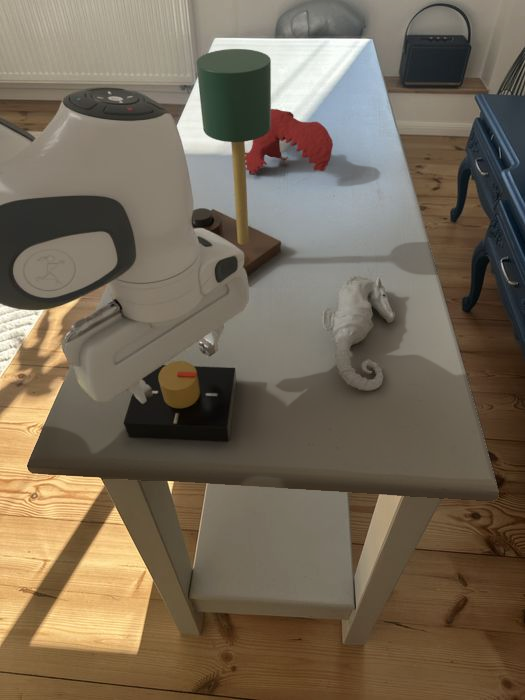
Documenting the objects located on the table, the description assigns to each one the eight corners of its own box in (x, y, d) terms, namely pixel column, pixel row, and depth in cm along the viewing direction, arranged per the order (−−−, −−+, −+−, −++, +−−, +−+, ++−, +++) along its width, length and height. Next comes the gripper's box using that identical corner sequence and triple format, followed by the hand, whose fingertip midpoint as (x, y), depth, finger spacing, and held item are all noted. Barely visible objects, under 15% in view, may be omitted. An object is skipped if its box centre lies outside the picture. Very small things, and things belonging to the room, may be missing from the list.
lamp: (203, 243, 77) (180, 62, 58) (241, 219, 82) (231, 44, 63) (245, 265, 73) (235, 78, 54) (282, 239, 78) (285, 58, 58)
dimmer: (128, 437, 57) (122, 422, 55) (146, 378, 63) (141, 363, 61) (228, 442, 57) (227, 427, 54) (236, 382, 63) (235, 366, 60)
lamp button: (187, 223, 82) (185, 214, 81) (202, 214, 84) (201, 205, 82) (201, 231, 80) (200, 222, 79) (217, 222, 82) (216, 212, 81)
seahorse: (421, 388, 60) (395, 271, 71) (338, 373, 57) (324, 253, 68) (398, 406, 64) (377, 293, 75) (319, 393, 61) (310, 276, 72)
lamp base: (165, 248, 83) (161, 228, 80) (214, 219, 89) (212, 199, 86) (232, 287, 76) (231, 266, 73) (281, 252, 82) (281, 231, 79)
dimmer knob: (159, 407, 56) (154, 387, 54) (167, 378, 59) (162, 358, 57) (197, 409, 56) (193, 389, 53) (202, 380, 59) (199, 359, 56)
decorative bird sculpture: (312, 210, 99) (351, 142, 95) (289, 194, 91) (331, 119, 87) (226, 163, 113) (257, 102, 110) (199, 146, 105) (232, 80, 102)
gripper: (74, 354, 39) (116, 446, 49) (256, 245, 48) (259, 341, 58) (37, 317, 42) (83, 411, 52) (214, 222, 51) (224, 317, 61)
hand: (178, 373), depth 55 cm, fingers open, 8 cm apart
